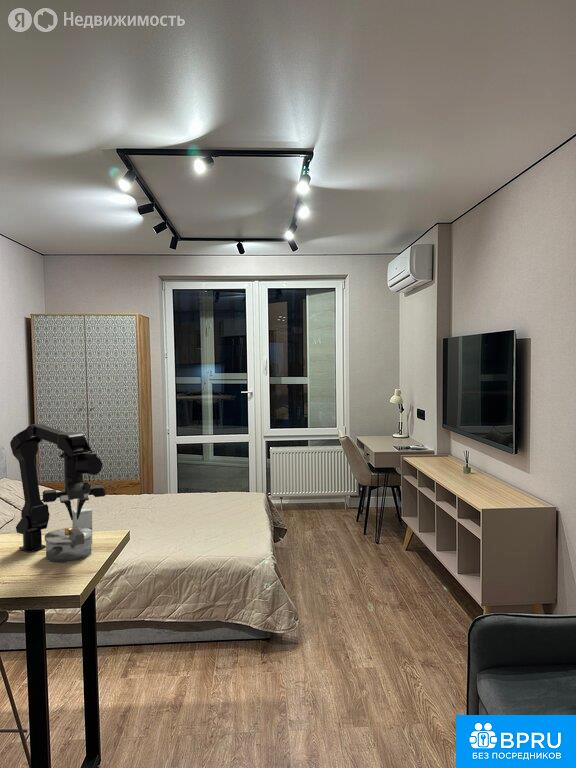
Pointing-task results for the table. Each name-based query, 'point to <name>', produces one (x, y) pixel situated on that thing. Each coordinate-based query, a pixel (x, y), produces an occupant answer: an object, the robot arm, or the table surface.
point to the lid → (69, 535)
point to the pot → (68, 551)
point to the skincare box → (83, 519)
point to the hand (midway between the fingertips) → (74, 519)
